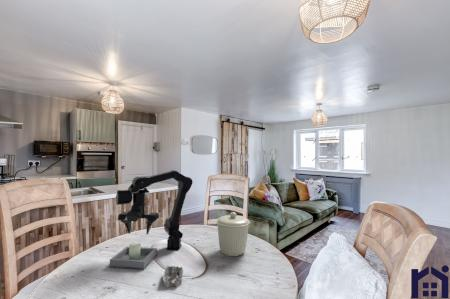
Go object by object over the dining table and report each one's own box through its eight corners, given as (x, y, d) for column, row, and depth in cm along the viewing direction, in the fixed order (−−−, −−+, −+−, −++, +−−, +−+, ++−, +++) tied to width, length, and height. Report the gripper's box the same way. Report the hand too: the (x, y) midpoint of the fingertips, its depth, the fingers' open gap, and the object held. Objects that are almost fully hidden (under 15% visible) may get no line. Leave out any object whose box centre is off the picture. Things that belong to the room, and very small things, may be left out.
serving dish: (156, 255, 110) (156, 248, 110) (143, 269, 96) (144, 261, 96) (126, 253, 112) (126, 246, 112) (109, 267, 98) (109, 259, 98)
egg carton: (181, 288, 84) (181, 277, 84) (161, 288, 84) (161, 278, 84) (183, 272, 95) (184, 263, 95) (166, 273, 94) (166, 264, 94)
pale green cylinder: (142, 257, 106) (142, 242, 106) (137, 262, 101) (137, 247, 101) (132, 256, 107) (132, 242, 107) (126, 261, 102) (127, 246, 102)
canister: (231, 264, 103) (232, 219, 104) (208, 250, 117) (209, 211, 117) (256, 253, 115) (257, 212, 115) (233, 242, 129) (233, 206, 129)
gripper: (111, 205, 102) (111, 239, 101) (150, 206, 100) (150, 240, 100) (124, 200, 113) (123, 230, 113) (159, 201, 112) (159, 232, 111)
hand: (138, 233), depth 109 cm, fingers open, 9 cm apart
